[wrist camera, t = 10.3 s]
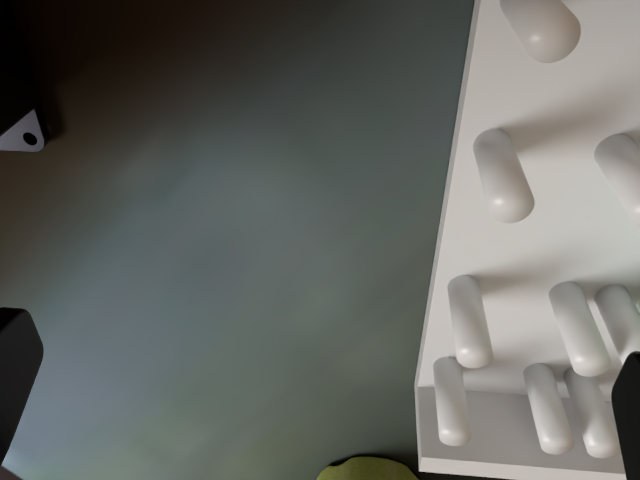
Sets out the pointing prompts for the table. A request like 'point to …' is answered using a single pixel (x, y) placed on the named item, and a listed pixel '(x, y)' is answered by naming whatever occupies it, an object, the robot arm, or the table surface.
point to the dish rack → (536, 247)
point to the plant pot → (367, 470)
